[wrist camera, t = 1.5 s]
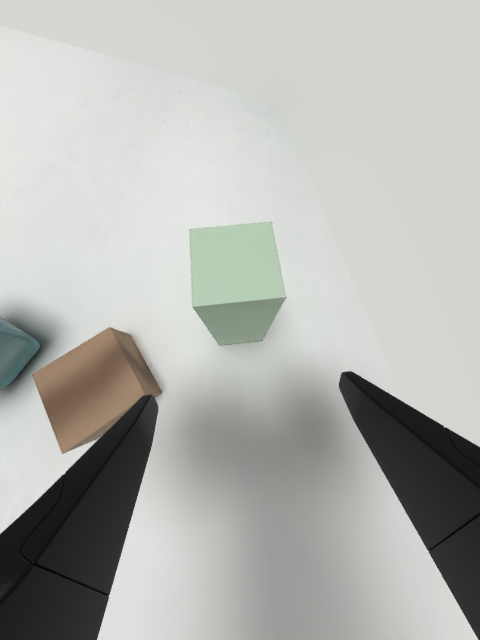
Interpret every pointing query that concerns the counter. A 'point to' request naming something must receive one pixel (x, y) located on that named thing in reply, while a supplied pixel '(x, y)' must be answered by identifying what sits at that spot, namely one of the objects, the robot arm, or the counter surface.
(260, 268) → the sage pillar
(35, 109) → the counter surface
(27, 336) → the flower pot
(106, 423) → the walnut block
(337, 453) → the counter surface
